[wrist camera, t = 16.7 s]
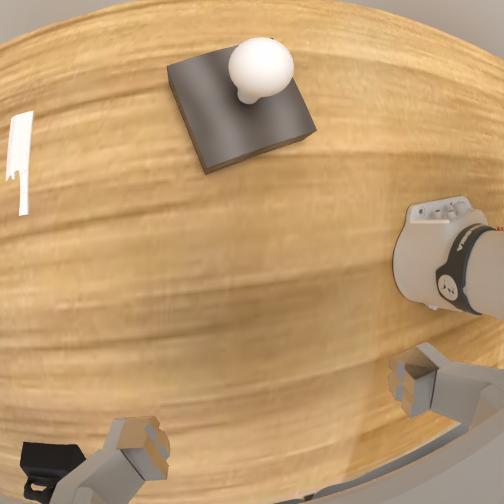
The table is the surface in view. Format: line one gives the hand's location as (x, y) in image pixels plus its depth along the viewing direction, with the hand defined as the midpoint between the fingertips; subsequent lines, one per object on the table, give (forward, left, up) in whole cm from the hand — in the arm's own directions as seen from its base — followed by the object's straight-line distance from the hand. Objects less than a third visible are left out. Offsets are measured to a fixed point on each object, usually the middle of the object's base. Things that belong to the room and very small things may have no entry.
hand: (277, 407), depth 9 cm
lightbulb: (-11, -18, -26) cm, 33 cm away
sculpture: (+41, +21, -31) cm, 56 cm away
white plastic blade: (+21, -25, -31) cm, 45 cm away
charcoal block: (-11, -18, -31) cm, 37 cm away
